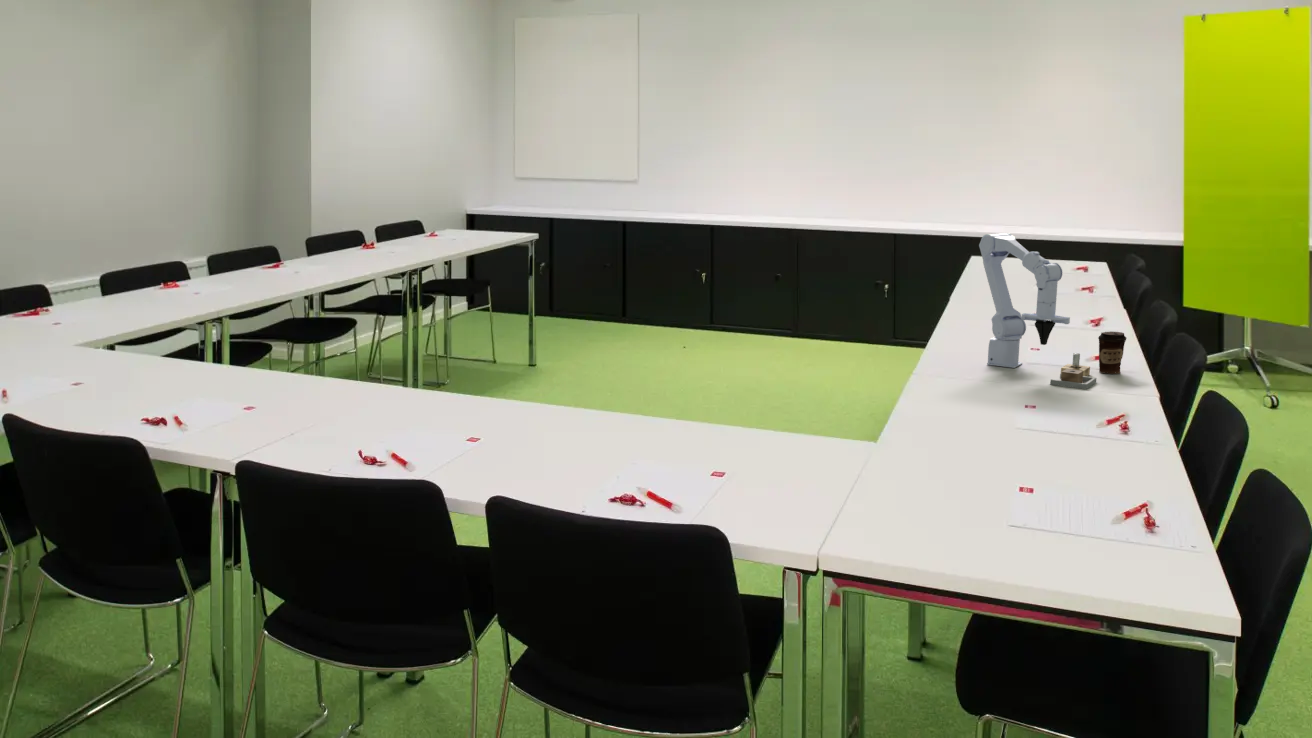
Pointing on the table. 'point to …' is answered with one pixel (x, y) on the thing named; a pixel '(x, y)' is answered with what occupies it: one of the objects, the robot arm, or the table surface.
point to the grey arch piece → (1075, 383)
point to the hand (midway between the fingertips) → (1043, 344)
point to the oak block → (1082, 368)
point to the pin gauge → (1076, 360)
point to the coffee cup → (1111, 351)
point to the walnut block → (1072, 375)
